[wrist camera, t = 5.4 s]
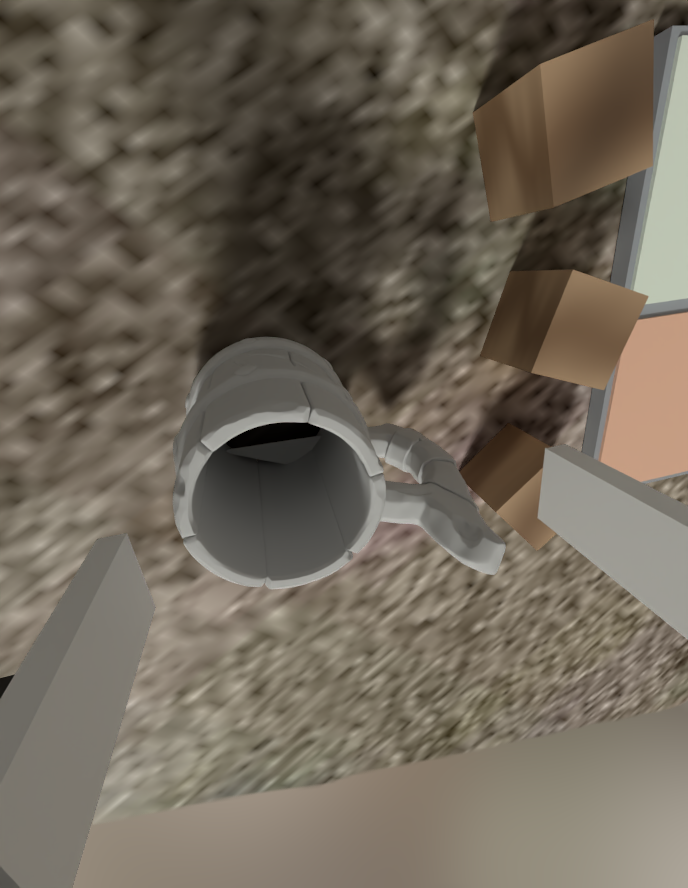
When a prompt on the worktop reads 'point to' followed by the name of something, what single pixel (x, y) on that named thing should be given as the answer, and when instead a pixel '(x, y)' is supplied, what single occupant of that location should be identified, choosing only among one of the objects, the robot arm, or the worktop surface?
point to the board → (652, 295)
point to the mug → (305, 474)
